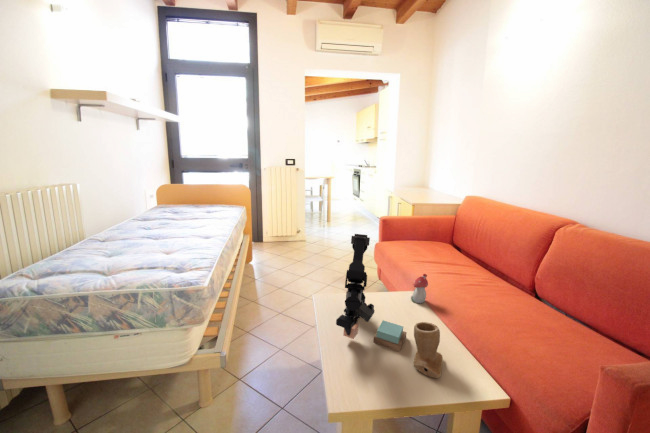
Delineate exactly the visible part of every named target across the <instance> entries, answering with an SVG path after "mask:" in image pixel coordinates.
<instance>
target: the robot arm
mask: <svg viewBox="0 0 650 433" xmlns="http://www.w3.org/2000/svg"><path fill="white" fill-rule="evenodd" d="M370 238H371V237H368V234H361V233H354V235H351V240H350V244H352V245H351V248H352V250H353V257H352V258H353V259H352V262H351V263H349V264H348V269H347V270H346V275H345V283H344V289H347V290H346V293H345V300H344V305H345V308H344V309H343V313H344V314H345V315H344V314H341V315H339V316H338V317H337V318H336V321H335V324H336V326H338V327H340V328H343V330H344V329H345V331H346V334H347V335H350V333H351V329H352V327H353V326H354V325H355V324H356V323H357V324H358V321H359V319H360V318H361V319H362V320H364V321H365V322H366V323H369V322H370V320H371V319H372V317H373V316H374V315H375V314H374V313H375V305H374V304H373V303H369V304H367V303H366V295H365V293H364V291H365V289H366V288H367V285H368V284H367V282H368V281H367V280H368V275H367V272H366V271H365V270H366V269H365V268H366V266H365V265H364V263H363V262H364V254H365V253H366V251H367V250H368V246H370V240H371V239H370Z"/></svg>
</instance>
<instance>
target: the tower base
mask: <svg viewBox="0 0 650 433" xmlns="http://www.w3.org/2000/svg"><path fill="white" fill-rule="evenodd" d="M407 333H408V332H407V331H404V330H403V333H402V335H401V338H400V340H399V343H398V344H396V343H393V342H390V341H387V340H384V339H381V338H378V337H376V336H377V332H375V333H374V336H373V340H372V342H373V343H375V344H378V345H381V346H383V347H386V348H388V349H392V350H394V351H397V352H400V351H401V348H402V346H403V344H404V343H405V341H406V338H407Z"/></svg>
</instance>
